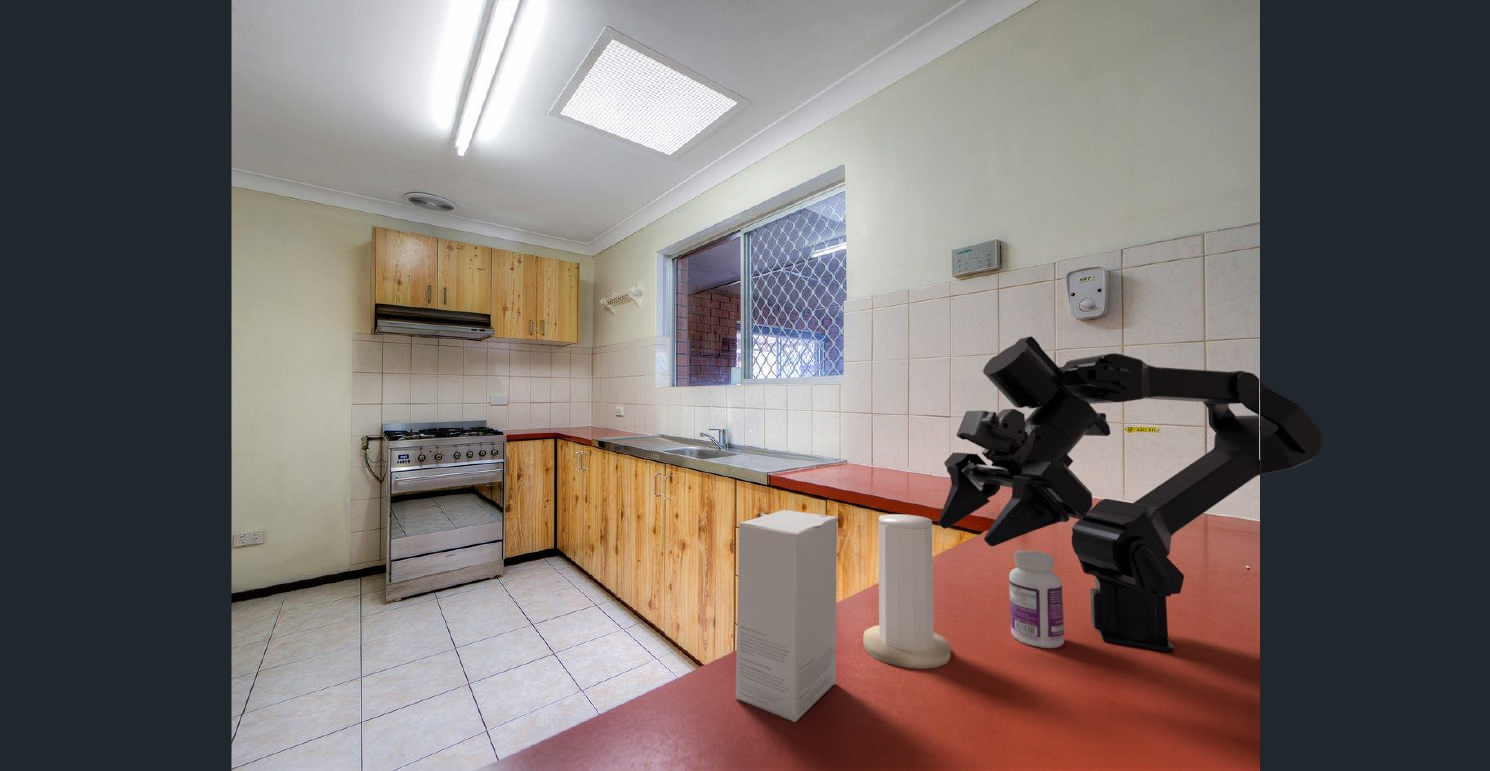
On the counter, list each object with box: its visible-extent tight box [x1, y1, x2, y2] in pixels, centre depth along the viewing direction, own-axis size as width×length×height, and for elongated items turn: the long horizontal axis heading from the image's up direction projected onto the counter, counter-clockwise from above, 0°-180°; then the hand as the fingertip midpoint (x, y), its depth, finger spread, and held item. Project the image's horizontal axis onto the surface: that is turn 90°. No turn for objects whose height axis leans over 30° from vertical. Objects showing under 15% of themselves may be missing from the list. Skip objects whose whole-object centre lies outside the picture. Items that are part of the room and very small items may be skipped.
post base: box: [863, 624, 951, 670], centre depth 56 cm, size 9×9×4 cm
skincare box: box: [735, 509, 838, 723], centre depth 47 cm, size 8×7×16 cm
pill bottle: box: [1008, 550, 1065, 649], centre depth 59 cm, size 5×5×10 cm
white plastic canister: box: [878, 513, 935, 651], centre depth 56 cm, size 6×6×13 cm
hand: (962, 533), depth 58 cm, fingers open, 9 cm apart
